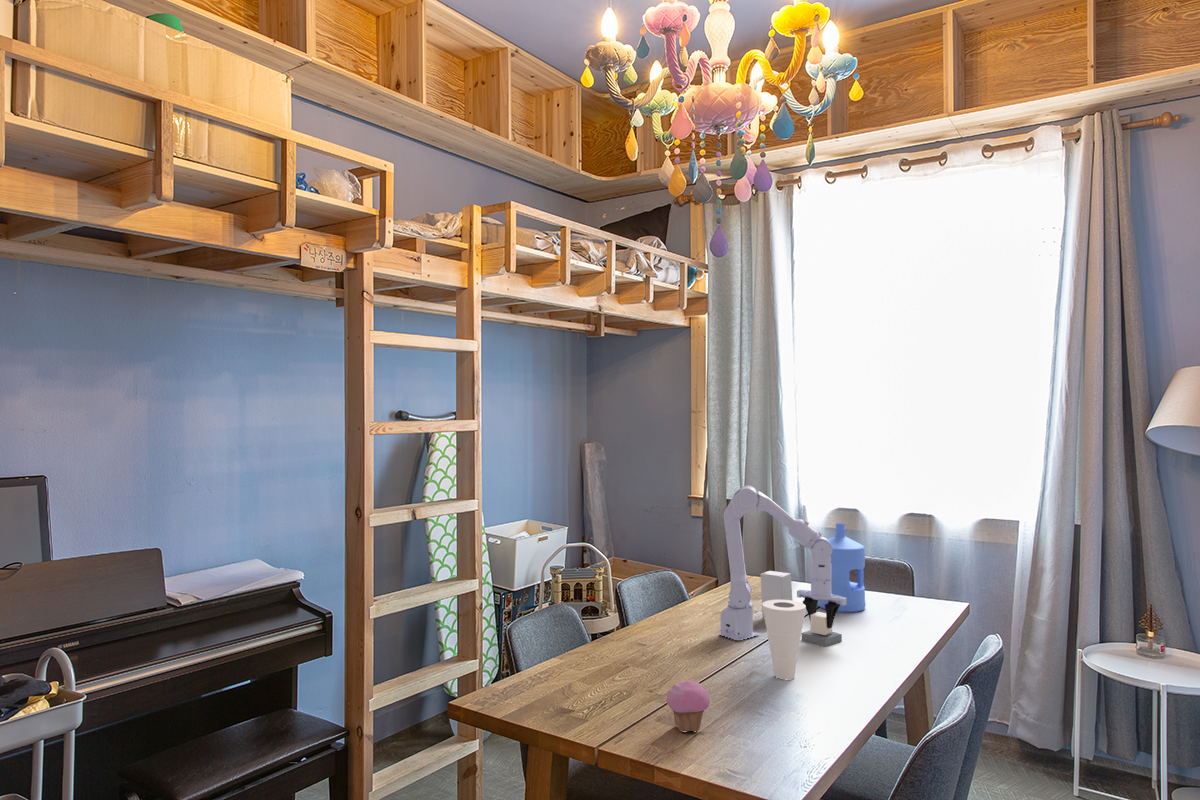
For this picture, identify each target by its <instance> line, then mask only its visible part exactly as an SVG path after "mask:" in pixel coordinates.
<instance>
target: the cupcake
mask: <svg viewBox="0 0 1200 800" xmlns="http://www.w3.org/2000/svg"><path fill="white" fill-rule="evenodd" d="M666 704H667V705H668V707H669V708H670V709H671V710H672V712H673V715H674V723H675V726H676V725H677V726H678V728H679V729H680V730H682V731H698V730H699V731H700V728H701V725H702V719H703V715H704V712H705V710H707V709H708V708H709V706H710V695H709V693H708V690H707V689H706V688H704V687H703V686H702V685H701V683H699V682H698V681H696V680H690V679H689V680H688V679H687V680H680V681H679V682H676V683H675V684H673V685H672V687H671V688H669V689H668V691H667V693H666ZM678 728H677V729H678ZM679 729H678V730H679ZM680 730H679V731H680ZM699 731H698V732H699Z"/></svg>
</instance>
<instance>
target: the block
mask: <svg viewBox="0 0 1200 800" xmlns="http://www.w3.org/2000/svg"><path fill="white" fill-rule="evenodd" d="M809 621H810V623H809V624H810V630H811V632H812V633H817V634H821V635H827V634H829V633H831V632H833V627H832V628H827V616H826V612H820V611H816V613H814V614H811V615H810V618H809Z"/></svg>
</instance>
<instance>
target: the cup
mask: <svg viewBox="0 0 1200 800" xmlns="http://www.w3.org/2000/svg"><path fill="white" fill-rule="evenodd" d="M762 606H763V611H764V617H765V619H764V622H765V627H766V632H767V639H768V646H769V649H770V650H769V651H770V658H771V665H772V668H773V674H774V675H775V676H776V677H777V678H781V679H793V678H794V679H795V677H796V669H797V663H798V657H799V656H798V655H799V652H800V645H801V641H802V633H803V631H802V630H803V629H804V620H805V615H806V605H805V604H803V602H801V601H797V600H793V599H792V600H768V601H765V602H763V603H762V602H761V607H762ZM775 676H774V677H775ZM777 678H776V679H777ZM794 679H793V680H794Z"/></svg>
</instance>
